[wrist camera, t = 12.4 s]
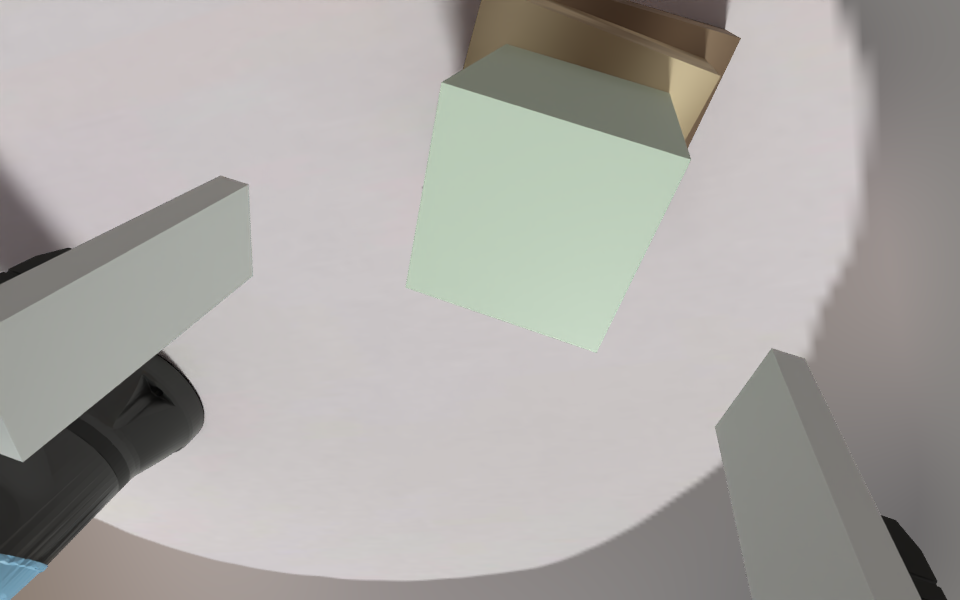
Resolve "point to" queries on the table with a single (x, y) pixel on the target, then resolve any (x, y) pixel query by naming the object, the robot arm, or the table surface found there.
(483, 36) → the oak slab
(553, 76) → the sage block
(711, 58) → the walnut slab
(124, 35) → the table surface
